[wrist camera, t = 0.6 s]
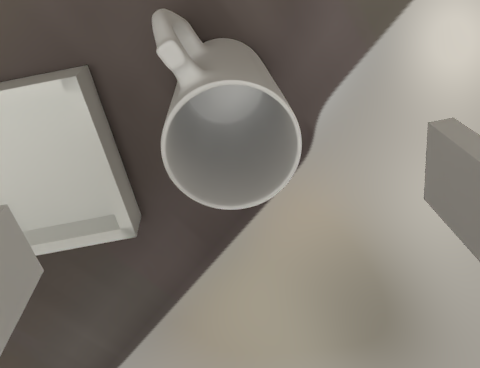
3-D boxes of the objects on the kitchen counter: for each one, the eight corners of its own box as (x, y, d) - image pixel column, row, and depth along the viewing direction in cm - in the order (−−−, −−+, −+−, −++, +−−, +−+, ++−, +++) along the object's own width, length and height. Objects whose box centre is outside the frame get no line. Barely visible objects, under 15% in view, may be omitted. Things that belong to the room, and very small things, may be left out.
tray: (-28, 247, 35) (-46, 270, 33) (-119, 105, 29) (-151, 120, 26) (141, 215, 35) (136, 236, 32) (87, 64, 29) (75, 76, 26)
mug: (285, 95, 31) (325, 168, 20) (210, 140, 32) (213, 231, 22) (210, -34, 26) (213, -25, 16) (128, 26, 28) (80, 70, 17)
